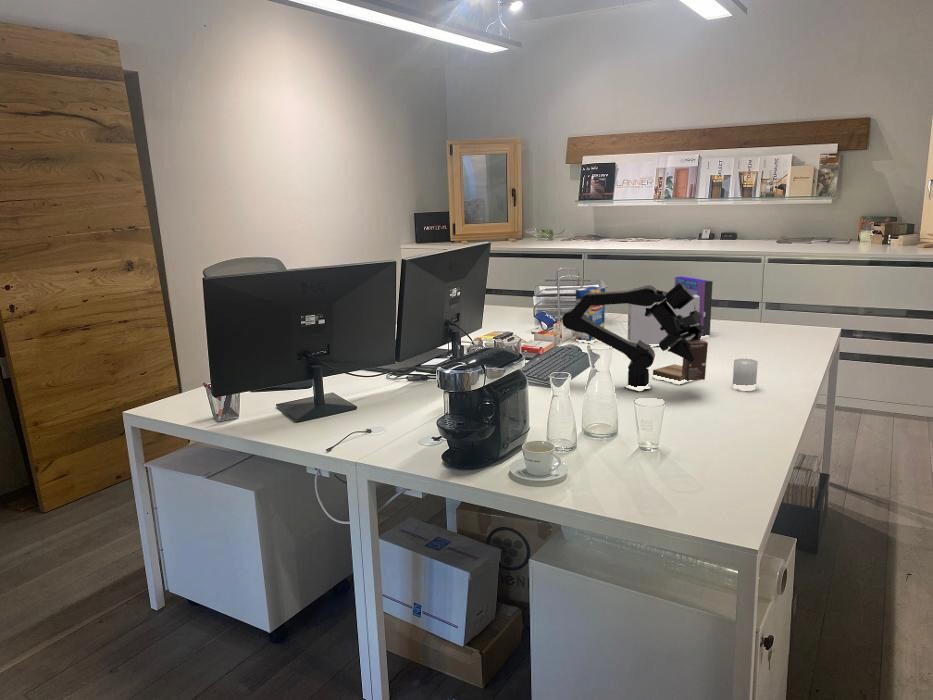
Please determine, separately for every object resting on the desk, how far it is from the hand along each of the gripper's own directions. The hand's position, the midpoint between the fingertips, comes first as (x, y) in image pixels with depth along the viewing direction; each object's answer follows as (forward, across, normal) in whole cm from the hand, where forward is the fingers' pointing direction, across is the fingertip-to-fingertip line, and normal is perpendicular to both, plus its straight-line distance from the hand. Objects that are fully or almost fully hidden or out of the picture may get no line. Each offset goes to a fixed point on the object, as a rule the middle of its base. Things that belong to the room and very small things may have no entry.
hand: (698, 358), depth 216 cm
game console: (-21, +54, +39) cm, 70 cm away
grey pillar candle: (+14, +18, +4) cm, 23 cm away
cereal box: (-22, +78, +40) cm, 91 cm away
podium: (-2, +15, +19) cm, 24 cm away
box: (+4, 0, +6) cm, 7 cm away
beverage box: (-41, +44, +59) cm, 84 cm away
